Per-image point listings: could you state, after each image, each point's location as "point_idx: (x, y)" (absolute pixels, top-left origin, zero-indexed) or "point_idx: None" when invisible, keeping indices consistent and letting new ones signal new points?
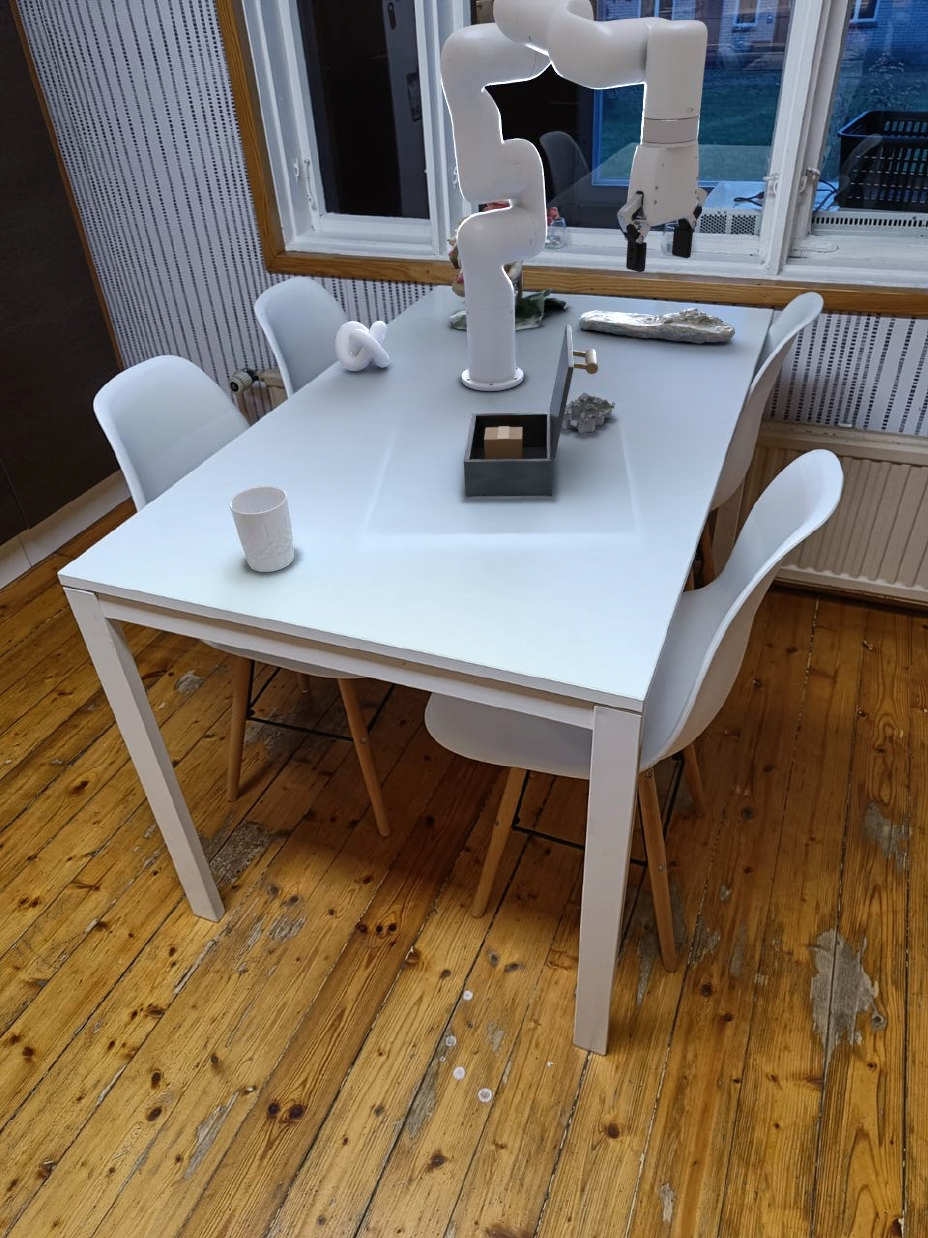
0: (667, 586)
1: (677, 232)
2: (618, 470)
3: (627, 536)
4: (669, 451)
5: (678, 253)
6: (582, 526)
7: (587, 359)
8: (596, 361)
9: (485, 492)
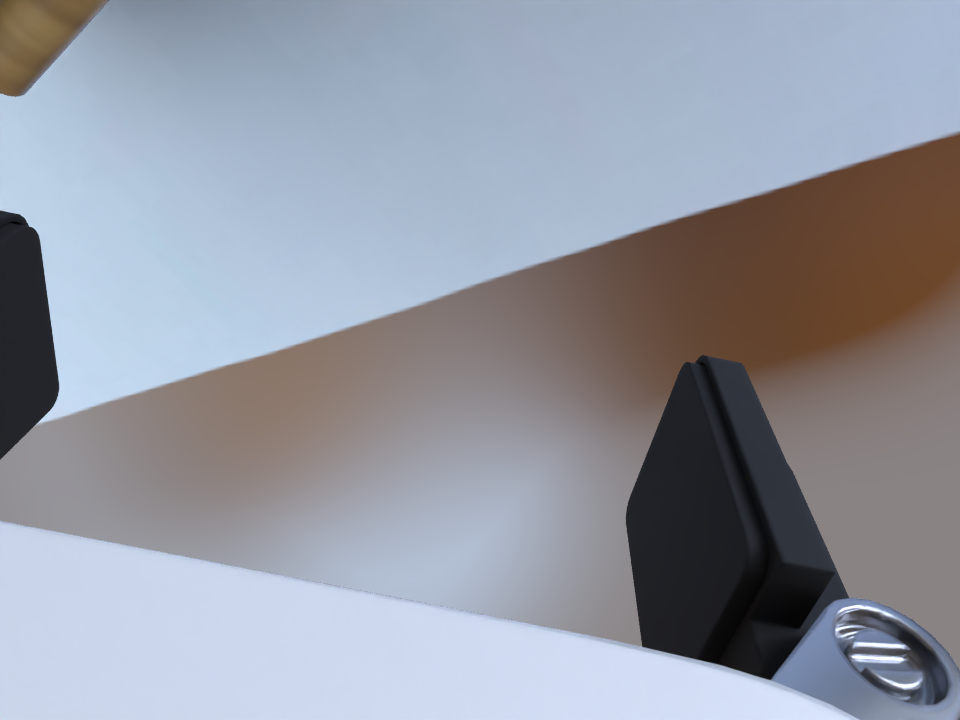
0: None
1: (709, 569)
2: (356, 46)
3: (111, 263)
4: (564, 111)
5: (660, 443)
6: (52, 151)
7: (2, 5)
8: (28, 65)
9: None
